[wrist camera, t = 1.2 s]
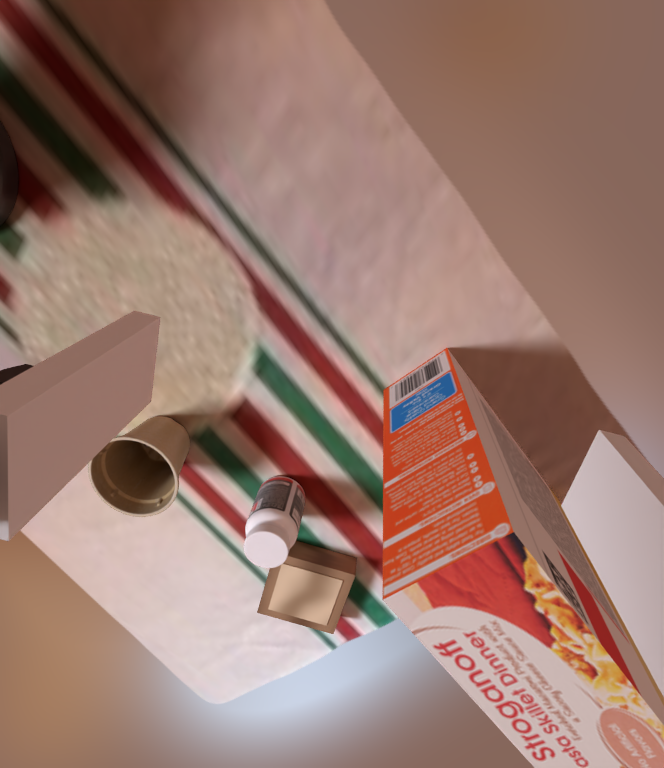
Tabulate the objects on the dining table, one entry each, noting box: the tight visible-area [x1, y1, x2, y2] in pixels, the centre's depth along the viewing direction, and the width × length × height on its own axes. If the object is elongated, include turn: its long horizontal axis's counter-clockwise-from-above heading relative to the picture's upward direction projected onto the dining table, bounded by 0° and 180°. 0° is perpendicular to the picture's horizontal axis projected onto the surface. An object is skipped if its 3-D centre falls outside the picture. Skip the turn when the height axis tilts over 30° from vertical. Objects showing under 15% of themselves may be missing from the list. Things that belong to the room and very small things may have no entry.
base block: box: [257, 541, 357, 634], centre depth 65 cm, size 10×10×3 cm
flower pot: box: [88, 416, 190, 517], centre depth 57 cm, size 9×9×9 cm
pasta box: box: [383, 348, 664, 768], centre depth 44 cm, size 23×8×30 cm, turn 38°
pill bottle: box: [244, 476, 305, 568], centre depth 58 cm, size 6×6×10 cm
